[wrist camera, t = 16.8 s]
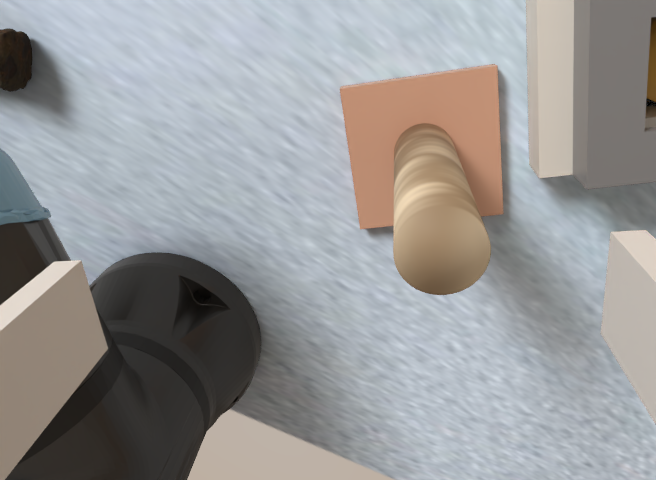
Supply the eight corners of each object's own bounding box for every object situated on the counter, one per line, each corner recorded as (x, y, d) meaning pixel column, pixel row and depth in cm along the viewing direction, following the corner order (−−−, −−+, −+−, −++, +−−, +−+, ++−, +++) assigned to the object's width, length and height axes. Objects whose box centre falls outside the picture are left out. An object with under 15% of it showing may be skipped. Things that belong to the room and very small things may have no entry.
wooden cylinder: (397, 184, 40) (398, 298, 25) (390, 127, 38) (388, 213, 23) (456, 177, 39) (493, 290, 24) (451, 119, 37) (488, 202, 23)
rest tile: (361, 223, 42) (360, 229, 41) (340, 86, 38) (339, 89, 37) (500, 208, 40) (503, 214, 40) (494, 64, 37) (497, 65, 36)
